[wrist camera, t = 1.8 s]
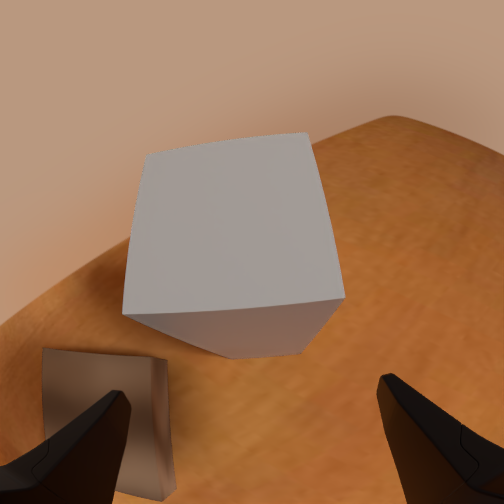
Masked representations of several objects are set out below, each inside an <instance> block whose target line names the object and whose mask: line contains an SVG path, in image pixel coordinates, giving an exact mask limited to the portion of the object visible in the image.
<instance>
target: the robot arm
mask: <svg viewBox="0 0 504 504" xmlns="http://www.w3.org/2000/svg"><path fill="white" fill-rule="evenodd" d="M377 399H378V404H379V408H380V413H381V417H382V422H383V427H384V431H385V435H386V438H387V441H388V444H389V447H390V450H391V453H392V456H393V459H394V462H395V465H396V468H397V471H398V474H399V478H400V481H401V484H402V488H403V491H404V494H405V498H406V501H407V504H504V448H502V447H500V446H498V445H496V444H494V443H492V442H490V441H488V440H487V439H485V438H483V437H481V436H480V435H478V434H477V433H475V432H474V431H472V430H471V429H469V428H468V427H466V426H465V425H463V424H462V425H461V422H459V421H458V420H456V419H455V418H454V417H452V416H451V415H449V414H448V413H447V412H445V411H444V410H442V409H441V408H440V407H438V406H437V405H436V404H434V403H433V402H431V401H430V400H429V399H427V398H426V397H425V396H423V395H422V394H420V393H419V392H418V391H416V390H415V389H414V388H412V387H411V386H409V385H408V384H407V383H405V382H404V381H403V380H401V379H400V378H399V377H397V376H396V375H394V374H393V373H389V374H385V375H382V376H381V377H380V380H379V384H378V388H377ZM131 412H132V407H131V404H130V402H129V400H128V399H127V397H126V395H125V393H124V392H123V391H121V390H111V391H110V392H108V393H107V394H106V395H105V396H103V397H102V398H101V399H99V400H98V401H97V402H96V403H94V404H93V405H92V406H90V407H89V408H88V409H86V410H85V411H84V412H83V413H81V414H80V415H79V416H77V417H76V418H75V419H73V420H72V421H71V422H69V423H68V424H67V425H65V426H64V427H63V428H62V429H60V430H59V431H58V432H56V433H55V434H53V435H52V436H51V437H50V438H48V439H47V440H45V441H44V442H43V443H41V444H40V445H38V446H37V447H36V448H34V449H32V450H31V451H29V452H28V453H26V454H24V455H23V456H21V457H19V458H17V459H16V460H14V461H12V462H10V463H8V464H6V465H4V466H0V504H112V501H113V497H114V492H115V488H116V483H117V479H118V475H119V471H120V467H121V463H122V459H123V455H124V451H125V447H126V443H127V437H128V430H129V424H130V418H131Z"/></svg>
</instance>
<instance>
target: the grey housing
mask: <svg viewBox="0 0 504 504" xmlns="http://www.w3.org/2000/svg"><path fill="white" fill-rule="evenodd" d="M344 299H345V293H344V287H343V281H342V276H341V270H340V265H339V260H338V255H337V250H336V245H335V240H334V235H333V231H332V226H331V221H330V217H329V213H328V208H327V204H326V200H325V196H324V192H323V188H322V184H321V180H320V176H319V172H318V169H317V165H316V161H315V158H314V154H313V151H312V147H311V144H310V140H309V137H308V133H307V132H305V133H290V134H277V135H268V136H267V135H266V136H257V137H248V138H240V139H233V140H226V141H218V142H211V143H205V144H199V145H193V146H187V147H182V148H177V149H172V150H167V151H162V152H157V153H152V154H148V155H146V159H145V163H144V167H143V173H142V177H141V181H140V186H139V191H138V196H137V201H136V206H135V212H134V217H133V223H132V229H131V236H130V243H129V250H128V258H127V266H126V275H125V285H124V296H123V309H122V314H123V315H125V316H127V317H129V318H131V319H133V320H135V321H137V322H140V323H142V324H144V325H146V326H148V327H151V328H153V329H155V330H158V331H160V332H162V333H164V334H167V335H169V336H172V337H174V338H176V339H179V340H181V341H184V342H186V343H189V344H191V345H194V346H197V347H199V348H202V349H204V350H207V351H210V352H212V353H215V354H218V355H221V356H224V357H226V358H229V359H246V358H261V357H273V356H284V355H294V354H301V353H302V352H303V350H304V349H305V348H306V347H307V346H308V344H309V343H310V342H311V341H312V340H313V338H314V337H315V336H316V335H317V334H318V332H319V331H320V330H321V329H322V327H323V326H324V325H325V324H326V322H327V321H328V320H329V318H330V317H331V316H332V315H333V313H334V312H335V311H336V309H337V308H338V307H339V305H340V304H341V303H342V301H343V300H344Z"/></svg>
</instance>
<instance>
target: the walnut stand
mask: <svg viewBox="0 0 504 504" xmlns="http://www.w3.org/2000/svg"><path fill="white" fill-rule="evenodd" d="M111 390H121V391H123V392H124V393H125V395H126V397H127V399H128V400H129V402H130V404H131V407H132V412H131V418H130V424H129V430H128V437H127V443H126V447H125V451H124V455H123V459H122V463H121V467H120V471H119V475H118V479H117V483H116V488H115V491H118V492H122V493H125V494H129V495H133V496H137V497H141V498H146V499H150V500H155V501H160V502H162V501H163V500H165V499H166V498H167V497H168V496H169V495H170V494H171V493H173V492H174V491H175V490H176V481H175V473H174V465H173V455H172V445H171V433H170V419H169V401H168V375H167V360H164V359H159V358H154V357H142V356H121V355H106V354H94V353H83V352H74V351H65V350H57V349H50V348H43V352H42V403H43V419H44V430H45V439H46V440H47V439H48V438H50V437H51V436H52V435H53V434H55V433H56V432H58V431H59V430H60V429H62V428H63V427H64V426H65V425H67V424H68V423H69V422H71V421H72V420H73V419H75V418H76V417H77V416H79V415H80V414H81V413H83V412H84V411H85V410H86V409H88V408H89V407H90V406H92V405H93V404H94V403H96V402H97V401H98V400H99V399H101V398H102V397H103V396H105V395H106V394H107V393H108V392H110V391H111Z"/></svg>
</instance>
